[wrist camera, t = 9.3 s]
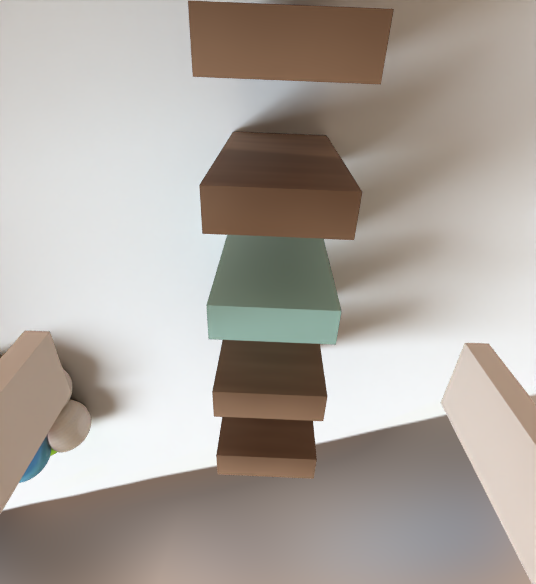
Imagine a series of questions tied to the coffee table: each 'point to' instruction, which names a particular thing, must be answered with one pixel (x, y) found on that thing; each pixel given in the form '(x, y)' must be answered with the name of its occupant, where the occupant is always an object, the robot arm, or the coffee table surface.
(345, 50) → the domino
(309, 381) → the domino
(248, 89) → the coffee table surface
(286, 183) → the domino
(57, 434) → the colorful disc cluster
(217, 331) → the teal domino
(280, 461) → the domino
